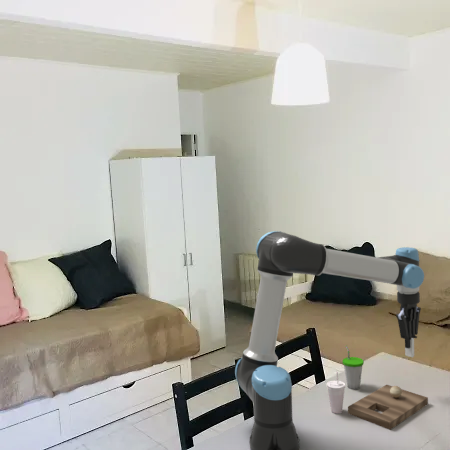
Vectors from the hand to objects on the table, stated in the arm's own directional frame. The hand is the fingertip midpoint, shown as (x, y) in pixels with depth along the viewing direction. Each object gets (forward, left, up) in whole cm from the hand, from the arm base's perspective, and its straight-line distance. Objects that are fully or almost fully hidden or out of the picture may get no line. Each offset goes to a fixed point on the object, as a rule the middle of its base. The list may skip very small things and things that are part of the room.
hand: (409, 355), depth 185 cm
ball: (-9, 0, -10) cm, 14 cm away
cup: (-7, +19, -15) cm, 25 cm away
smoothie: (-27, +12, -15) cm, 33 cm away
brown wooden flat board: (-14, 0, -15) cm, 21 cm away
